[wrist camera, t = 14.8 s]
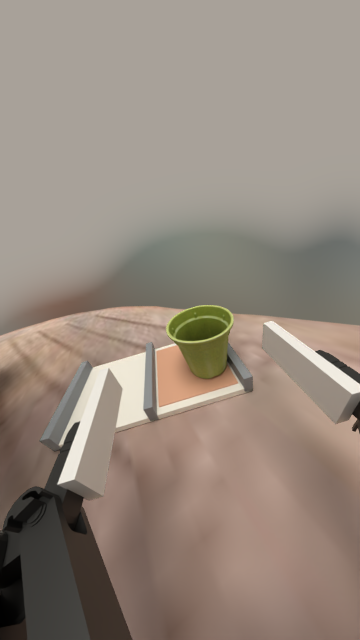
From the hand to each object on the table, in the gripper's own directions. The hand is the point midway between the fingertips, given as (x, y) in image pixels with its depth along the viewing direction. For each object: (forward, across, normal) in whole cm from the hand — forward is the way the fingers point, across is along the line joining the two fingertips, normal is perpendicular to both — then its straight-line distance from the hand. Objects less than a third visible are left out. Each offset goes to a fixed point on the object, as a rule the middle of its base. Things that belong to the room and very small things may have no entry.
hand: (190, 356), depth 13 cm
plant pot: (+8, +3, -11) cm, 14 cm away
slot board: (+10, -7, -12) cm, 17 cm away
